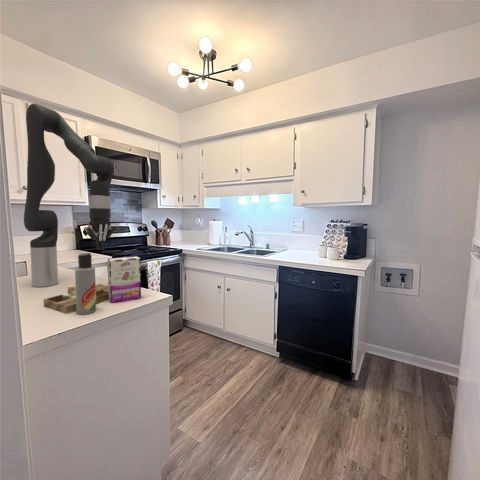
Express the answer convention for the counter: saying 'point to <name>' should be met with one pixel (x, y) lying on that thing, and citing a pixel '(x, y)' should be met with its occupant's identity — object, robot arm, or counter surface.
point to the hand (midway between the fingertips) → (100, 249)
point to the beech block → (72, 289)
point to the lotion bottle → (85, 285)
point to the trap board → (74, 300)
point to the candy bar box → (124, 279)
